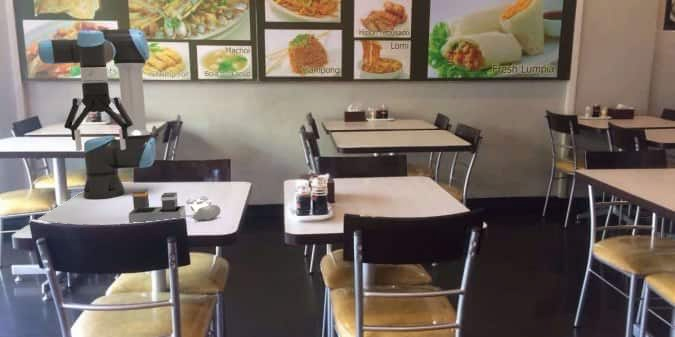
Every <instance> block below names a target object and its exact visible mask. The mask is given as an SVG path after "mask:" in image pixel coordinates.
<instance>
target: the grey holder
mask: <svg viewBox="0 0 675 337" xmlns="http://www.w3.org/2000/svg"><path fill="white" fill-rule="evenodd" d="M160 200H161V206H149V207H140V208H134V207H133V209H132V210H131V211H130V212H129V213H128V222H129V223H133V222H146V221H156V220H164V219H172V218H180V217H185V218H186V219H187V214H186V205H178V204H179V203H178V192H177V191H176V192H163V194H162V195H161V197H160Z"/></svg>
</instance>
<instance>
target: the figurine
mask: <svg viewBox="0 0 675 337" xmlns="http://www.w3.org/2000/svg"><path fill="white" fill-rule="evenodd" d="M205 201H208V204H207V203H204V202H205ZM185 202H186V204H187V205H189V207H188V208H190V209H191V212H192V213H193V220H195V221H198V222H200V221H199V220H201V221H211V220H214V219H216V218H217V217H218V216H219V215H220V214H221V208H220V206H218V205H217V204H212V201H211V199H210V198H207V197H206V196H204V195H203V196H201V198H199V199H194V200H192V201H191V198H188V199H187V200H185Z"/></svg>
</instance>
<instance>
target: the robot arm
mask: <svg viewBox="0 0 675 337" xmlns="http://www.w3.org/2000/svg"><path fill="white" fill-rule="evenodd" d="M37 52H38V58H39V60H40V61H41V62H42V63H43V64H48V65H49V64H50V65H51V64H52V65H55V64H57V65H58V64H79V68H80V77H81V78H80V80H81V81H82V82H83V83H82V84H81V87H82V89H81V90H82V98H79V97H75V98H72V106H71V108H70V111H69V113H68V116H67V118H66V121H65V123H64V128H65V129H67V130H70V131H71V133H70V134H71V139H72V140H73V141H75V142H74V143H75V149H76V151H75V152H80V151H83V154H84V161H85V162H84V163H85V171H86V172H85V173H86V179H85V184H84V187H83V188H84V189H83V197H84V198H85V199H89V200H91V199H92V200H101V199H111V198H115V197H120V196H123V195H124V194H125V187H124V185H123V183H122V180H121V177H120V176H119V169H138V168H139V169H143V168H149V167H151V166H153V164H154V162H155V158H156V152H157V151H156V150H157V146H156V145H157V144H156V139H155V138H154V137H151V135H152V134H151V132H150V131H148V130H147V123H146V120H147V119H146V109H145V94H144V82H143V80H144V79H143V68H144V67H145V66H146V61H148V60H149V59H150V48H149V42H148V40H147V36H146V35H145V33H144V31H143V30H141V29H133V28H126V29H125V28H123V29H122V28H121V29H119V28H118V29H117V28H116V29H97V30H96V29H95V30H80V31H78V32H77V36H75V37H68V38H67V37H66V38H60V39H59V38H58V39H42V40H40V41H39V42H38V46H37ZM111 61H113V65H114V66H115V67H116V68H117V69H118V77H119V89H120V91H119V92H120V97H119V96H115V97H113V98H112V97H110V89H109V83H108V82H107V81H108V80H109V78H108V68H107V63H109V62H111ZM111 103H112V104H113V105H114V106H115V108H116V110H117V111H118V112H119V114H120V116H121V117H120V116H119V115H118V114H117V113H116V112H115V111H114V110H113V108H112V107H111V106H110V104H111ZM82 104H83V105H84V109H83V110H82V112H81V113H79V114H80V115H79V116H78V117H77V118H76V115H77V113H78V111H79V109H80V108H79V107H80V106H81V105H82ZM96 112H97V113H103V112H104V113H106V114H107V115H108V116H109V117H110V118H111V119H112V120H113V121H114V122H115V123H116V124H117V125H118V126H119V127H120V128H119V129H118V133H119V138H118V139H116V136H115V135H106V136H105V135H104V136H99V137H96V138H95V137H94V138H91V139H87V140H86V141H84V143H83V146H82V136H81V129H79V127H80V126H81V125H82V123H83V121H84V120H85V119H86V118H87V116H89V113H96ZM75 118H76V120H75ZM83 149H84V150H83Z"/></svg>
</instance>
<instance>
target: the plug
mask: <svg viewBox="0 0 675 337" xmlns="http://www.w3.org/2000/svg"><path fill="white" fill-rule="evenodd" d="M131 195H132V201H133V209H134V208H140V207H150V204H149V202H150V199H149V190H148V189H147V188H146V189H135V190H134V191H132V194H131Z"/></svg>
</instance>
